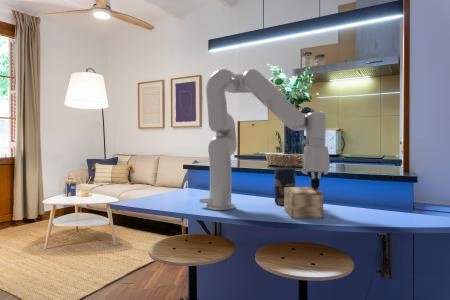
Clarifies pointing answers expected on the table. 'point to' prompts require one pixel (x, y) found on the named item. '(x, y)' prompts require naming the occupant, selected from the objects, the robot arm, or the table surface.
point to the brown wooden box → (303, 205)
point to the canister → (283, 182)
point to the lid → (302, 190)
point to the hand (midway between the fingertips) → (315, 188)
